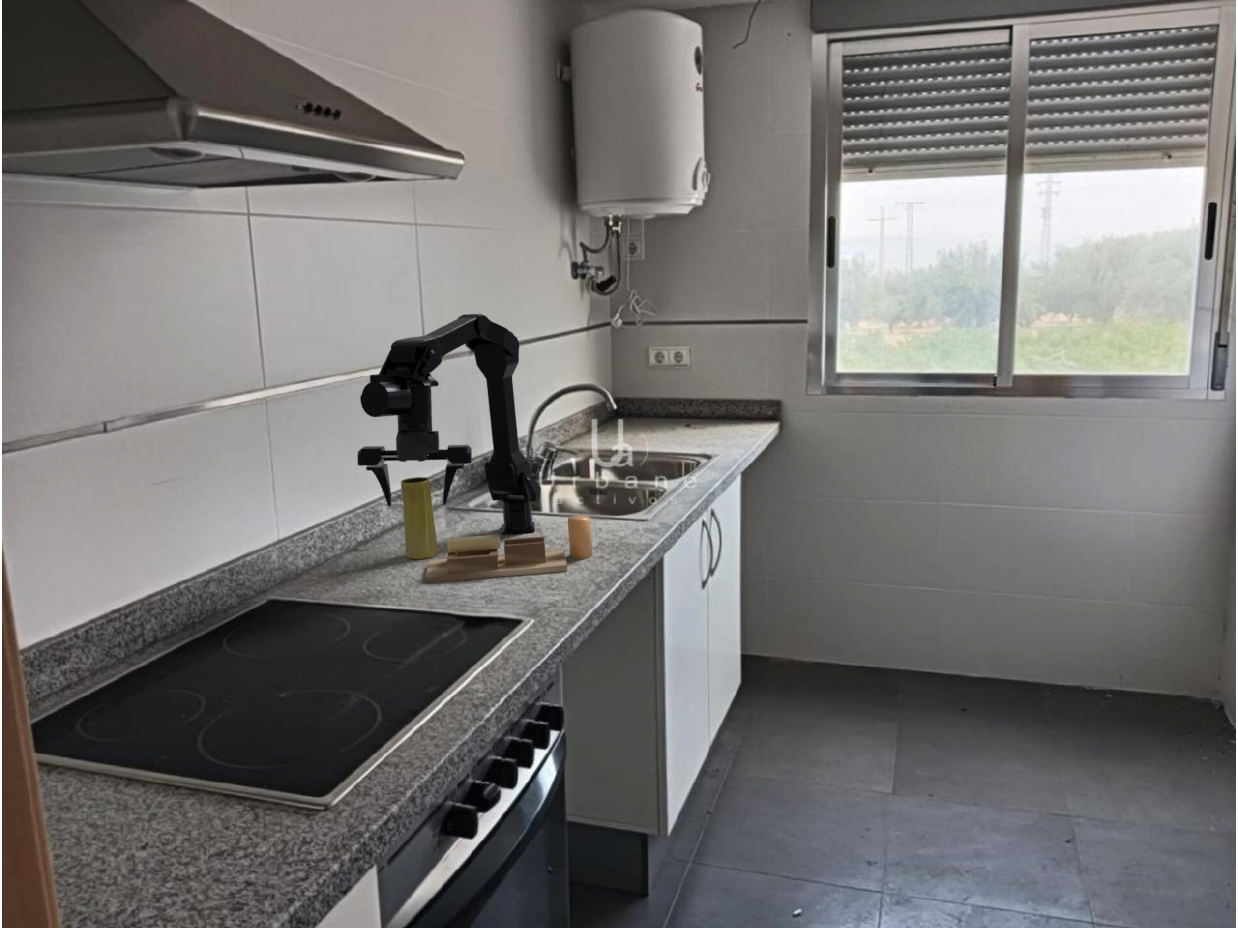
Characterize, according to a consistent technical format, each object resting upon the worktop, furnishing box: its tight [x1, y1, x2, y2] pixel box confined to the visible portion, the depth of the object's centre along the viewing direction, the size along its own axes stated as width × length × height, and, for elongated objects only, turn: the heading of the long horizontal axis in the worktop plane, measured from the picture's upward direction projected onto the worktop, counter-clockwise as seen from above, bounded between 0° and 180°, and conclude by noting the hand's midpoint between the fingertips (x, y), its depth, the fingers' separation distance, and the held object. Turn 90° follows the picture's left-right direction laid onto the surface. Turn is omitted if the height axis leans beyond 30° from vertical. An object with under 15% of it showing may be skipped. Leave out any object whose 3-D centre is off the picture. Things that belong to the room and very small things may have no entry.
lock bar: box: [446, 534, 501, 554], centre depth 172 cm, size 2×9×2 cm, turn 96°
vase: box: [400, 476, 440, 560], centre depth 183 cm, size 6×6×14 cm
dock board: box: [424, 535, 568, 584], centre depth 173 cm, size 10×24×4 cm, turn 96°
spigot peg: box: [567, 514, 593, 560], centre depth 178 cm, size 4×4×7 cm
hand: (417, 505), depth 169 cm, fingers open, 9 cm apart
